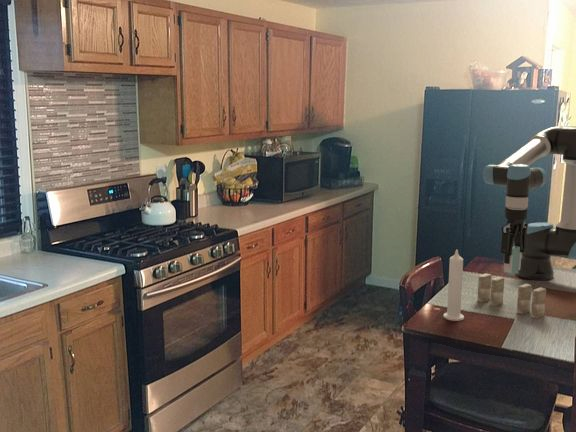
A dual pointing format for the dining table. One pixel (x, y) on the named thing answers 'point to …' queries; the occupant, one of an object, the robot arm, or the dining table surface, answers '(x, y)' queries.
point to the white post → (455, 288)
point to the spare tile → (515, 260)
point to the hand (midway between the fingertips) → (511, 270)
